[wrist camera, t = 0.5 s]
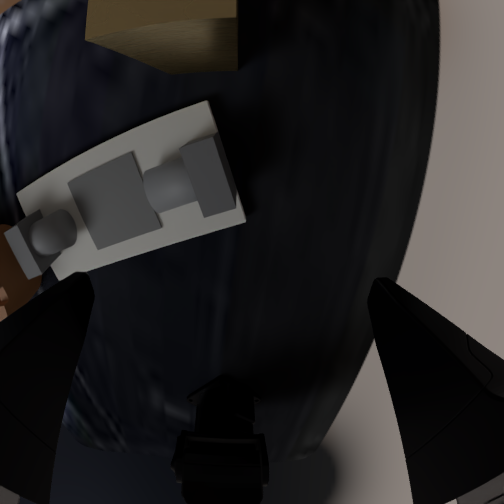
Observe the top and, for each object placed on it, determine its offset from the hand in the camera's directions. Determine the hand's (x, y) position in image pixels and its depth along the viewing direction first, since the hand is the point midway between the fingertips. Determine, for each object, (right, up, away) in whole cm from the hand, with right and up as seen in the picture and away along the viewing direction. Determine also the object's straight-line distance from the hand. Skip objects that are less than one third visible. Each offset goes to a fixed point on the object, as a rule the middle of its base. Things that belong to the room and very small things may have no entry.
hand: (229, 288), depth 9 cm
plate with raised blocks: (-10, +5, +12) cm, 17 cm away
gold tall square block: (-3, +15, +8) cm, 17 cm away
